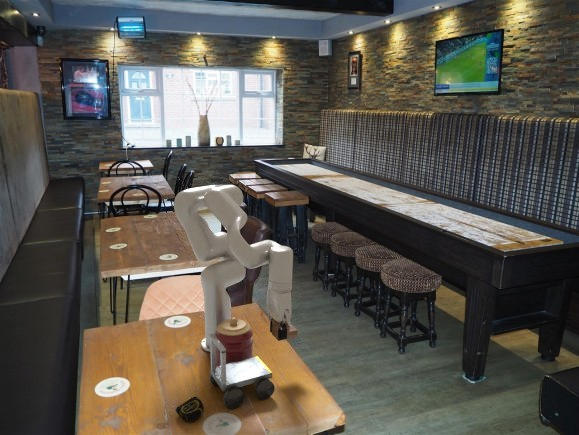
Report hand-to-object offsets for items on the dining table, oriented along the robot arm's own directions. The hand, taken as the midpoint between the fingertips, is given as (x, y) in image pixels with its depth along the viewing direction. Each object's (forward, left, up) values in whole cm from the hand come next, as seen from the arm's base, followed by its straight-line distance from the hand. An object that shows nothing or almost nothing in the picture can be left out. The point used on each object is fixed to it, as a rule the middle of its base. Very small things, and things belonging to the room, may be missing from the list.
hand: (278, 334), depth 159 cm
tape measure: (+8, -32, -13) cm, 35 cm away
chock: (0, +2, -1) cm, 2 cm away
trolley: (+6, -16, -13) cm, 21 cm away
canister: (-10, -12, -14) cm, 21 cm away
